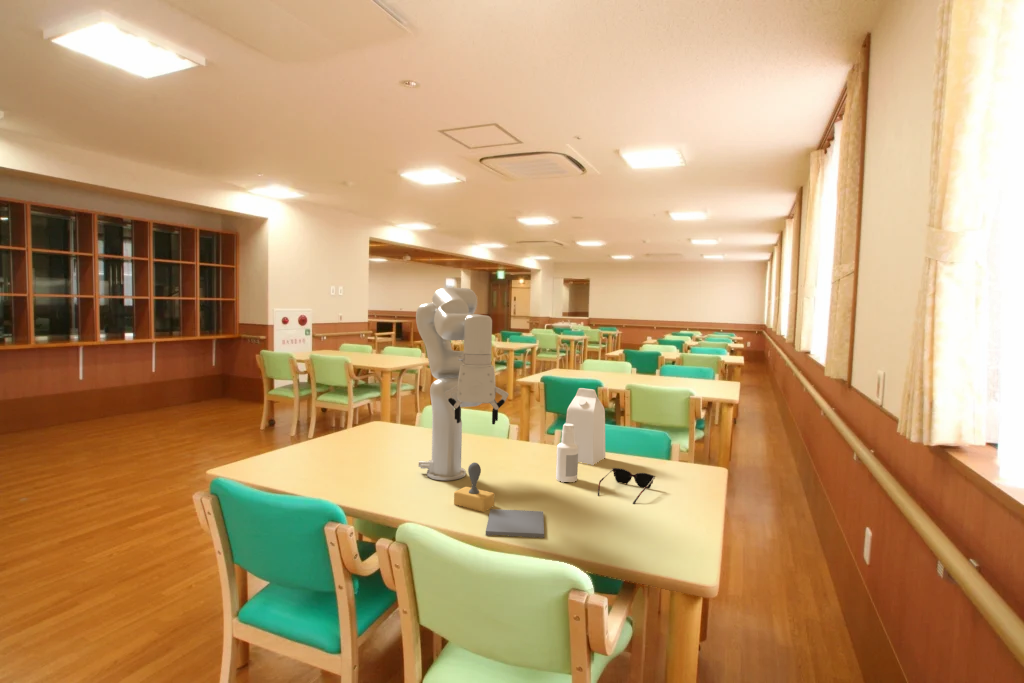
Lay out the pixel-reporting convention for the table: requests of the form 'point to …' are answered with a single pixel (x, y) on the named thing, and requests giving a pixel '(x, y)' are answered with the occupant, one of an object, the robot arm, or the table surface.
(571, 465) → the spray bottle
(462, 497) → the rubber stamp
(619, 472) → the sunglasses
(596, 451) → the milk
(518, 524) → the mat
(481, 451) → the table surface
